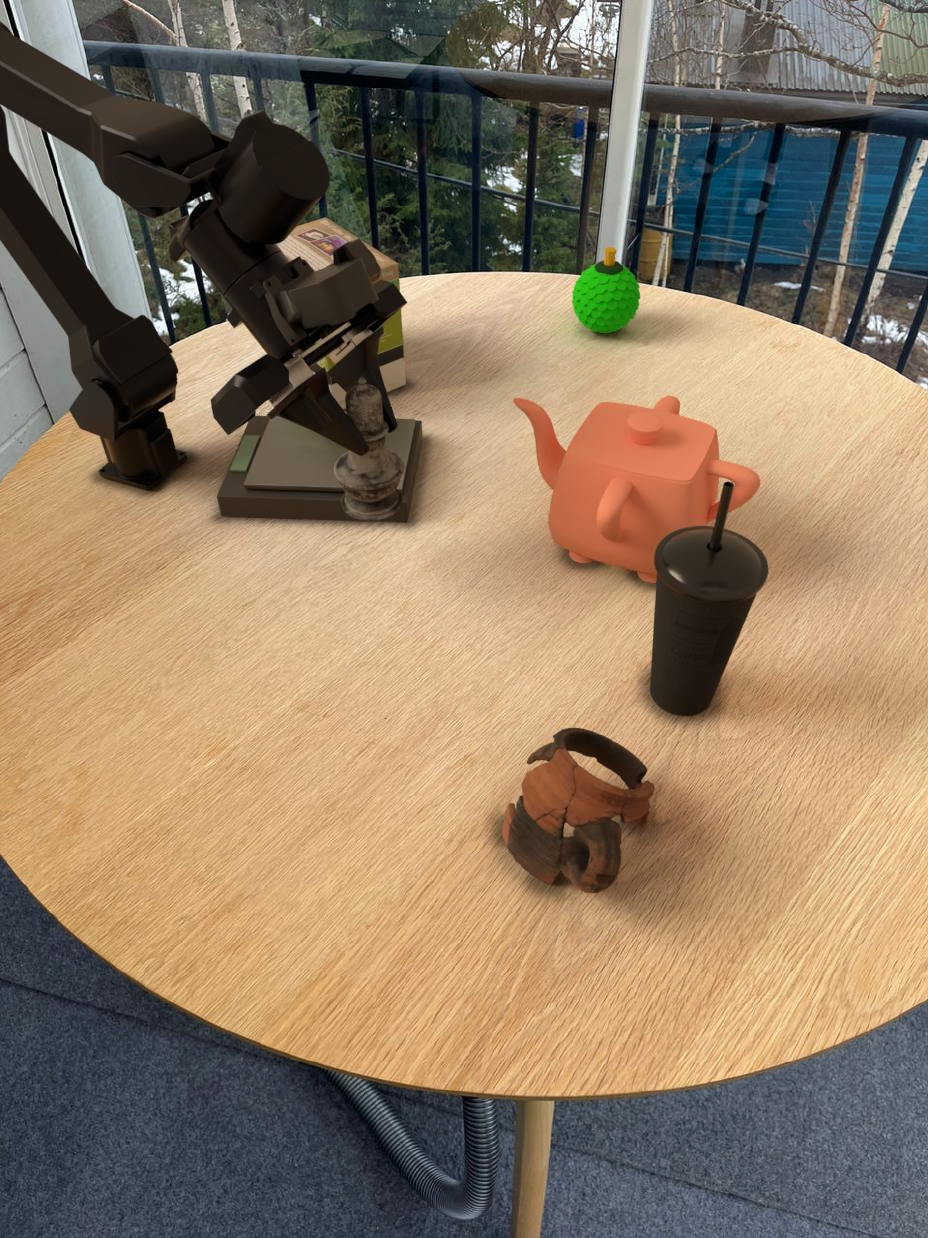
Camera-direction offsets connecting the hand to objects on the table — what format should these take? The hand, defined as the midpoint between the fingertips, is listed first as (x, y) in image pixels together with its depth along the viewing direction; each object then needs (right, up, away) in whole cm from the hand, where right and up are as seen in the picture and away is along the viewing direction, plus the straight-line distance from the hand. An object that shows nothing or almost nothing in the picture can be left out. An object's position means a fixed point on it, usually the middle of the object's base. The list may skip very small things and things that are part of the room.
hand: (380, 441), depth 75 cm
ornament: (+24, +21, +41) cm, 52 cm away
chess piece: (-1, -4, +5) cm, 7 cm away
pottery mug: (+14, -30, -11) cm, 35 cm away
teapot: (+21, -7, +12) cm, 25 cm away
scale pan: (-6, +2, +17) cm, 18 cm away
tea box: (-8, +14, +34) cm, 37 cm away
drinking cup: (+24, -20, -2) cm, 31 cm away
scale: (-7, 0, +19) cm, 20 cm away
